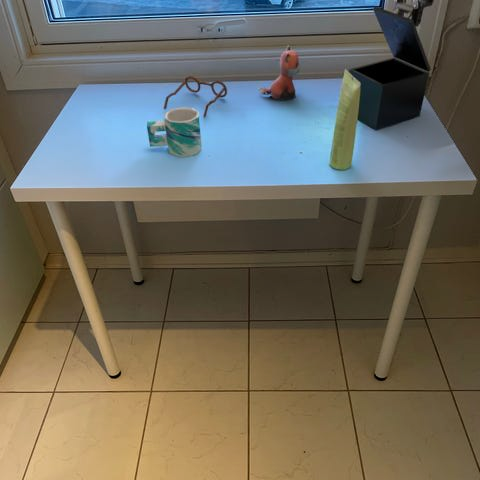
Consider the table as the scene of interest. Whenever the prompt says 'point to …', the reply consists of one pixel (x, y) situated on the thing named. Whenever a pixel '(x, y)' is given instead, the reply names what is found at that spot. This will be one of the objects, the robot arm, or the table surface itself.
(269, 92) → the stuffed fox
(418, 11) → the robot arm
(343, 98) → the tube
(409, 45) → the bin lid
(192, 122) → the mug
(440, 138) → the table surface
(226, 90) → the glasses
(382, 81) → the bin
